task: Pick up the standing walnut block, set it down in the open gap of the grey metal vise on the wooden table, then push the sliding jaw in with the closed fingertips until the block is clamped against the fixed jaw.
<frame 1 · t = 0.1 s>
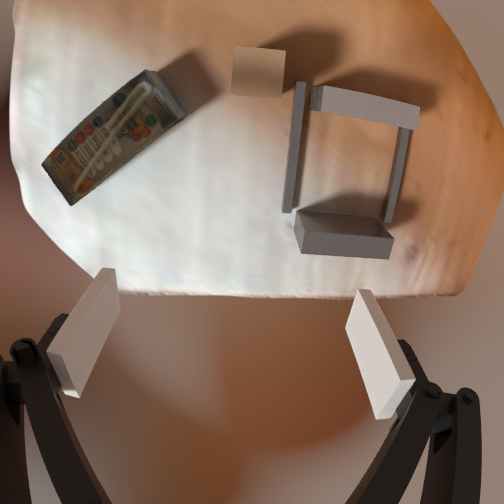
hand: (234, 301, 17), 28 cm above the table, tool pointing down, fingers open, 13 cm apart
beverage carton: (119, 134, 39), on the table
jaw: (363, 106, 34), point 3 cm above the table, slide at 0.0 cm
vise body: (336, 224, 45), on the table
block: (256, 77, 36), on the table
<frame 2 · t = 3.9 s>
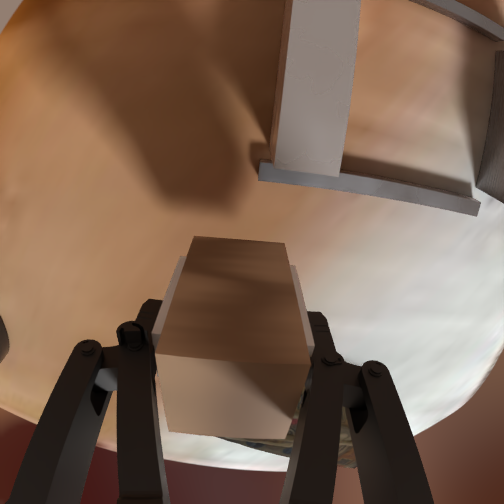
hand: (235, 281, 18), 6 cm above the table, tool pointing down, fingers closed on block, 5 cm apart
beverage carton: (306, 396, 32), on the table
jaw: (311, 54, 14), point 4 cm above the table, slide at 0.0 cm
vise body: (501, 123, 18), on the table
block: (236, 278, 19), point 5 cm above the table, touching gripper
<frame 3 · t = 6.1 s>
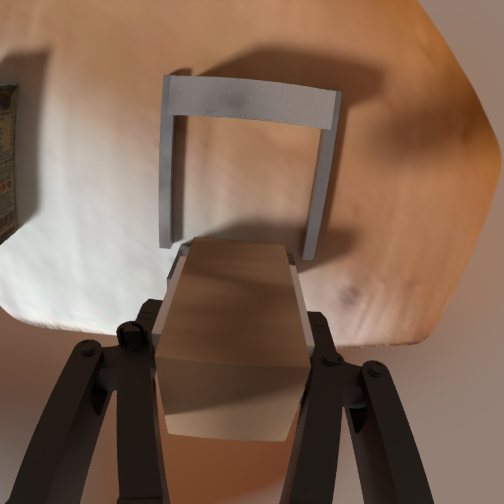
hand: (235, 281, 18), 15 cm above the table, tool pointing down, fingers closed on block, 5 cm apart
jaw: (251, 99, 24), point 3 cm above the table, slide at 0.0 cm
vise body: (235, 261, 35), on the table
block: (236, 279, 19), point 15 cm above the table, touching gripper
when the fingers open (1 cm above the table, at t = 8.7 s): block stays where it is, on the table.
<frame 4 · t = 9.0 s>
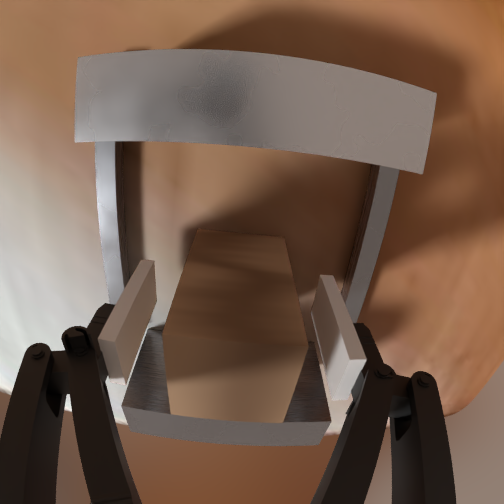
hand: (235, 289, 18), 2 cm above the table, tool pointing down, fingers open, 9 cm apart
jaw: (254, 99, 12), point 3 cm above the table, slide at 0.0 cm
vise body: (229, 352, 23), on the table
block: (236, 270, 20), on the table
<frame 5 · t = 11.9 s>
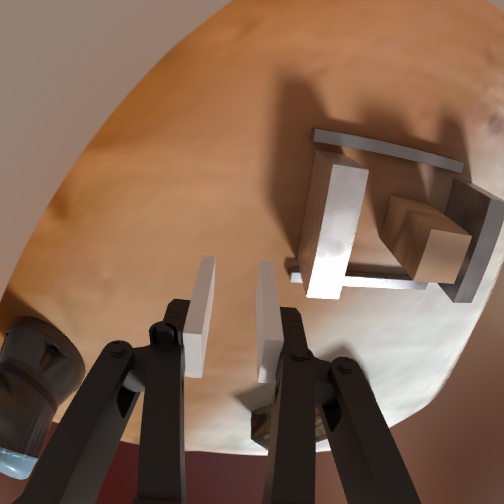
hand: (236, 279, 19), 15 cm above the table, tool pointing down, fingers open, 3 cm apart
beverage carton: (311, 399, 47), on the table
jaw: (327, 222, 29), point 4 cm above the table, slide at 0.0 cm
vise body: (450, 227, 33), on the table
block: (404, 220, 33), on the table
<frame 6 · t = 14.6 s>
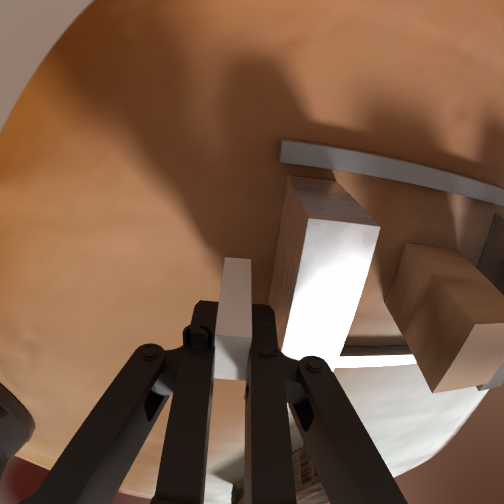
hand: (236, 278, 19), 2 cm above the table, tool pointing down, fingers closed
beverage carton: (290, 467, 36), on the table
jaw: (304, 298, 18), point 3 cm above the table, slide at 0.2 cm, touching gripper
vise body: (482, 280, 22), on the table
block: (422, 276, 21), on the table
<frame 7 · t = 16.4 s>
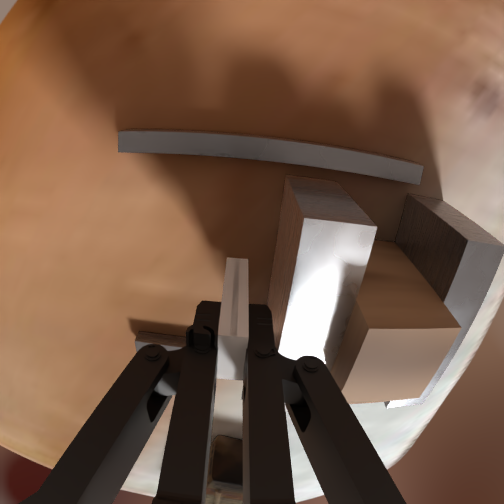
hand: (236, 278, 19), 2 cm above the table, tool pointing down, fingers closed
beverage carton: (225, 466, 35), on the table
jaw: (302, 298, 18), point 4 cm above the table, slide at 9.0 cm, touching block, gripper
vise body: (402, 276, 21), on the table
block: (352, 271, 21), on the table, touching jaw, vise body
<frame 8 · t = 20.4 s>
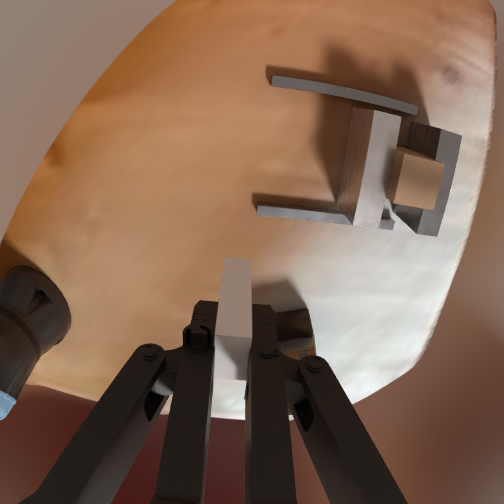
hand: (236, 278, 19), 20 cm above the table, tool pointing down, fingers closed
beverage carton: (290, 353, 50), on the table
jaw: (366, 164, 32), point 3 cm above the table, slide at 9.0 cm
vise body: (412, 169, 36), on the table
block: (385, 163, 36), on the table
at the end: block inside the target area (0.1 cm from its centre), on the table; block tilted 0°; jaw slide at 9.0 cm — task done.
